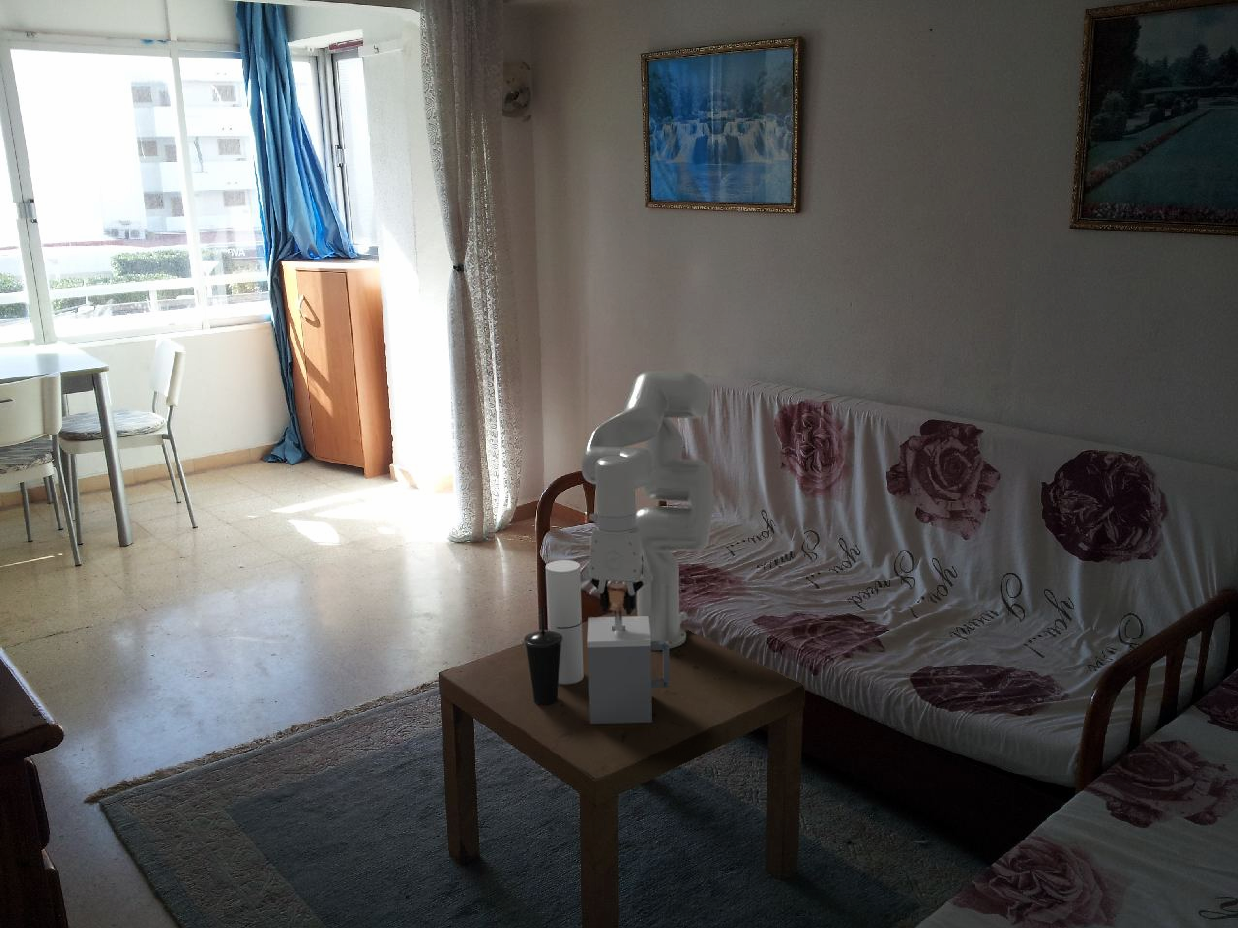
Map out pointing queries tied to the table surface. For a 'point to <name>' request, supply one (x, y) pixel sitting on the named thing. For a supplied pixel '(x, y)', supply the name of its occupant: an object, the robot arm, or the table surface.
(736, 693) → the table surface
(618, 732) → the table surface
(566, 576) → the cylindrical container
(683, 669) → the table surface
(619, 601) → the copper piston
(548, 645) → the drinking cup
